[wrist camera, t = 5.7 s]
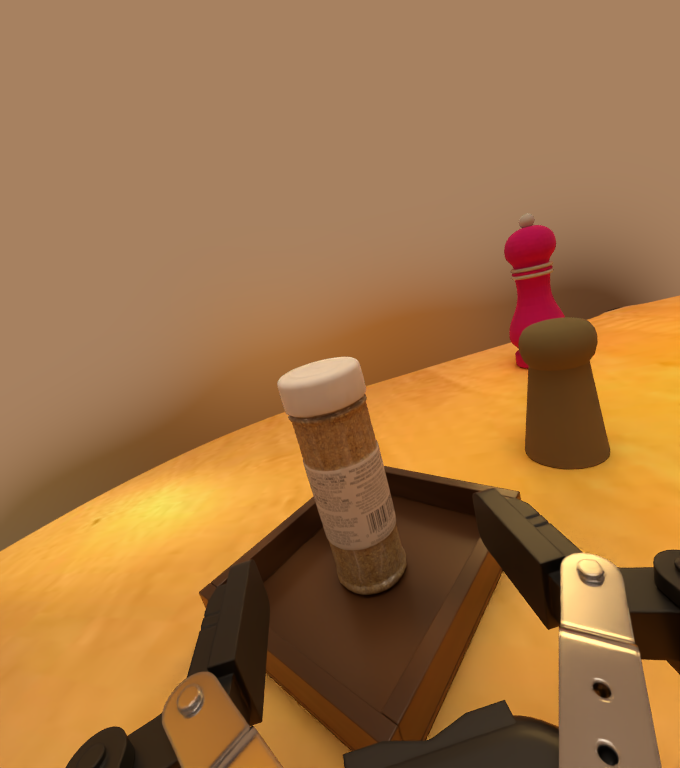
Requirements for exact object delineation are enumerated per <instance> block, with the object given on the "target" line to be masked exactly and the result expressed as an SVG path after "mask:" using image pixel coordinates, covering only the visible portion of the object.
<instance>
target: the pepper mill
mask: <svg viewBox="0 0 680 768" xmlns="http://www.w3.org/2000/svg"><path fill="white" fill-rule="evenodd" d="M533 223H534V216H533V215H532V214H525V215H523V216H522V217H521V218H520V220H519V225H520V227H522V229H519V230H518V231H516V232H515V233H513V234H512V235H511V236H510V237H509V238H508V240H507V242H506V244H505V250H504V253H505V258H506V260H507V261H508V262H509V263H510V264H511V265H512V266H513V268H514V269H512V270H511V273H513V274H512V276H513V277H512V278H511V279H512V280H515V282H516V287H517V295H518V300H517V306H516V310H515V313H514V316H513V319H512V322H511V325H510V340H511V342H512V343H513V344H514V345H515V346H516V347H517V348H519V346H518V343H519V337H520V335H521V333H522V331H523V330H524V329H525V328H527V327H528V326H530V325H532V324H534V323H537V322H540V321H544V320H548V319H554V318H565V316H564V314H563V313H562V311H561V310H560V308H559V307H558V305H557V304H556V302H555V300H554V298H553V296H552V293H551V287H550V273H551V272H553V271H554V269H553V268H552V264H553V262H552V261H549V259H550V256H551V255H552V253H553V252H554V250H555V247H556V240H555V236H554V234H553V232H552V231H551V230H550V229H549V228H547V227H545V226H541V225H534V226H532V225H533ZM516 363H517V365H518V366H520V367H522V368H529V366H528V365H527V364H526V363H525V362H524V361H523V359H522V357H521V354H520V352H519V350H518V351H517V352H516Z"/></svg>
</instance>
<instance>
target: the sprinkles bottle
mask: <svg viewBox="0 0 680 768" xmlns="http://www.w3.org/2000/svg"><path fill="white" fill-rule="evenodd" d="M278 390H279V394H280V397H281V400H282V403H283V406H284V410H285V412H286V414H288V415H289V417H288V418H289V420H290V421H291V422H292V424H293V428H294V430H295V434H296V437H297V440H298V443H299V445H300V450H301V454H302V457H303V463H304V467H305V470H306V473H307V476H308V479H309V483H310V486H311V489H312V492H313V496H314V499H315V502H316V505H317V509H318V512H319V515H320V518H321V521H322V524H323V527H324V531H325V534H326V536H327V539H328V540H329V543H330V546H331V549H332V553H333V556H334V559H335V563H336V568H337V574H338V577H339V580H340V583H341V584H342V585H343V586H345V587H346V588H347V589H348V590H350V591H352V592H354V593H357V594H361V595H371V594H376V593H380V592H382V591H385V590H387V589H390V588H391V587H392V586H394V585H395V584H396V583H397V582H398V581H399V579H400V578H401V577H402V575H403V574H404V571H405V569H406V565H407V562H406V553H405V551H404V549H403V547H402V546H401V541H400V537H399V533H398V529H397V525H396V515H395V511H394V507H393V502H392V498H391V494H390V490H389V486H388V482H387V478H386V474H385V470H384V465H383V461H382V457H381V453H380V449H379V445H378V442H377V440H376V439H375V435H374V431H373V427H372V424H371V421H370V416H369V412H368V408H367V404H366V395H365V392H366V386H365V382H364V378H363V374H362V371H361V367H360V364H359V362H358V361H357V360H356V359H355V358H351V357H336V358H330V359H325V360H320V361H316V362H313V363H310V364H307V365H304V366H301V367H298V368H296V369H294V370H292V371H290V372H288V373H286V374H285V375H283V376H282V377H281V378H280V379H279V381H278Z"/></svg>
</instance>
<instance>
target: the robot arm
mask: <svg viewBox="0 0 680 768" xmlns="http://www.w3.org/2000/svg"><path fill="white" fill-rule="evenodd" d="M472 497H473V504H474V510H475V516H476V522H477V527H478V532H479V535H480V537H481V540H482V542H483V544H484V545H485V547H486V548H487V550H488V551H489V552H490V554H491V555H492V556H493V558H494V559H495V560H496V562H497V563H498V564H499V566H500V567H501V568H502V570H503V571H504V572H505V574H506V575H507V576H508V578H509V579H510V580H511V581H512V583H513V584H514V585H515V587H516V588H517V589H518V591H519V592H520V593H521V595H522V596H523V597H524V599H525V600H526V601H527V603H528V604H529V605H530V607H531V608H532V609H533V611H534V612H535V613H536V615H537V616H538V617H539V619H540V620H541V621H542V623H543V624H544V625H545V626H546V628H547V629H548V630H549V629H552V628H555V627H558V626H559V727H557V726H555V725H553V724H550V723H548V722H545V721H543V720H539V719H536V718H532V717H526V716H515V715H512V713H511V711H510V709H509V707H508V705H507V703H506V701H505V700H503V701H500V702H497V703H494V704H491V705H488V706H485V707H482V708H479V709H476V710H473V711H470V712H467V713H465V714H464V715H462V716H461V717H460V718H459V719H457V720H456V721H455V722H453V723H452V724H451V725H449V726H448V727H447V728H445V729H444V730H443V731H441V732H440V733H439V734H437V735H436V736H435V737H433V738H432V739H430V740H425V741H381V742H378V743H375V744H372V745H369V746H367V747H364V748H361V749H358V750H355V751H352V752H349V753H346V754H343V758H344V767H345V768H662V767H661V762H660V757H659V751H658V746H657V741H656V736H655V730H654V725H653V720H652V714H651V709H650V704H649V699H648V693H647V688H646V683H645V677H644V672H643V667H642V662H641V659H646V660H667V661H668V663H669V664H670V665H671V666H672V667H673V668H674V669H675V670H676V671H677V672H678V673H679V674H680V550H666V551H662V552H660V553H658V554H657V555H656V556H655V557H654V562H653V565H654V567H644V568H619V567H616V566H615V565H614V564H613V563H611V562H610V561H608V560H607V559H605V558H602V557H600V556H597V555H594V554H589V553H583V552H582V551H581V550H579V549H578V548H577V547H576V546H575V545H574V544H573V543H572V542H571V541H569V540H568V539H567V538H566V537H565V536H564V535H563V534H562V533H560V532H559V531H558V530H557V529H556V528H555V527H554V526H553V525H552V524H550V523H548V521H547V520H546V519H545V518H544V517H543V516H542V515H539V513H538V512H537V511H536V510H535V509H534V508H533V507H532V506H530V505H529V504H528V503H526V502H523V501H521V500H519V499H517V498H515V497H512V498H509V499H506V498H505V497H504V496H503V495H502V494H501V493H500V492H499V491H498V490H497V489H495V488H489V489H486V490H483V491H479V492H476V493H473V496H472ZM269 620H270V605H269V599H268V595H267V592H266V589H265V586H264V584H263V581H262V578H261V576H260V573H259V571H258V568H257V565H256V563H255V561H254V560H253V559H251V560H248V561H245V562H241V563H238V564H235V565H232V566H231V567H230V569H229V574H228V578H227V582H226V584H223V585H220V586H218V587H217V588H216V590H215V591H214V593H213V594H212V596H211V597H210V599H209V600H208V603H207V607H206V611H205V614H204V618H203V621H202V625H201V631H200V632H199V636H198V639H197V643H196V647H195V650H194V654H193V657H192V661H191V665H190V668H189V672H188V676H187V678H186V679H185V680H184V681H183V682H181V683H180V684H179V685H178V686H177V687H176V688H175V690H174V691H173V692H172V694H171V695H170V696H169V698H168V700H167V702H166V704H165V706H164V709H163V712H162V713H161V714H160V715H159V716H157V717H156V718H154V719H153V720H151V721H150V722H148V723H147V724H145V725H144V726H142V727H141V728H139V729H137V730H136V731H134V732H133V733H131V734H130V735H128V736H127V735H126V733H125V731H124V730H123V729H122V728H120V727H109V728H106V729H104V730H102V731H100V732H98V733H97V734H95V735H94V736H93V737H91V738H90V739H89V740H88V741H87V742H85V743H84V744H83V745H82V746H81V747H80V748H79V750H78V751H77V752H76V753H75V754H74V756H73V757H72V758H71V760H70V761H69V763H68V765H67V766H66V768H283V767H282V765H281V764H280V763H279V761H278V760H277V758H276V757H275V755H274V754H273V753H272V751H271V750H270V748H269V747H268V745H267V744H266V743H265V741H264V740H263V738H262V737H261V735H260V734H259V733H258V731H257V730H256V729H255V727H254V726H251V725H254V724H258V723H261V722H262V716H263V702H264V689H265V675H266V661H267V648H268V634H269ZM250 726H251V727H250Z"/></svg>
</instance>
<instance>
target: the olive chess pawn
mask: <svg viewBox="0 0 680 768" xmlns="http://www.w3.org/2000/svg"><path fill="white" fill-rule="evenodd" d="M518 346H519V352H520V354H521V357H522V359H523V361H524V362H525V363H526V364H527V365H528V366H529V368H528V391H527V414H526V438H525V450H526V454H527V455H528V456H529V457H530V458H531V459H532V460H534V461H536V462H538V463H540V464H543V465H546V466H550V467H554V468H563V469H580V468H586V467H591V466H595V465H598V464H600V463H602V462H604V461H605V460H606V459H607V458H608V457H609V455H610V448H609V443H608V439H607V435H606V430H605V426H604V422H603V417H602V413H601V409H600V404H599V400H598V395H597V391H596V387H595V382H594V378H593V374H592V369H591V365H590V361H589V360H590V359H591V358H592V357H593V355H594V354H595V350H596V346H597V333H596V330H595V328H594V327H593V325H592V324H591V323H590V322H589V321H587V320H584V319H582V318H567V317H565V318H554V319H548V320H544V321H540V322H537V323H534V324H532V325H530V326H528V327H527V328H525V329H524V330H523V331H522V333H521V335H520V337H519V343H518Z"/></svg>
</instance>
